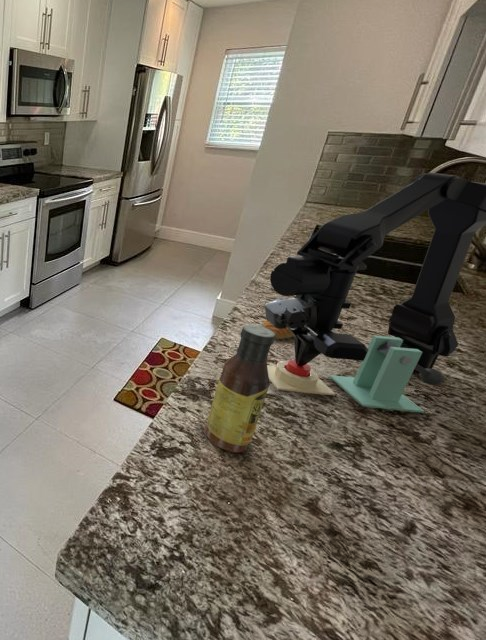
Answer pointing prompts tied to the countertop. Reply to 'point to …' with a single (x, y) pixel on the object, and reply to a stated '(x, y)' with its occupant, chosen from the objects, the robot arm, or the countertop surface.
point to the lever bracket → (383, 376)
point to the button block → (296, 380)
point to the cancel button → (298, 369)
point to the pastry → (278, 330)
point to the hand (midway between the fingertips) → (299, 364)
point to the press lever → (418, 368)
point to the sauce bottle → (241, 391)
